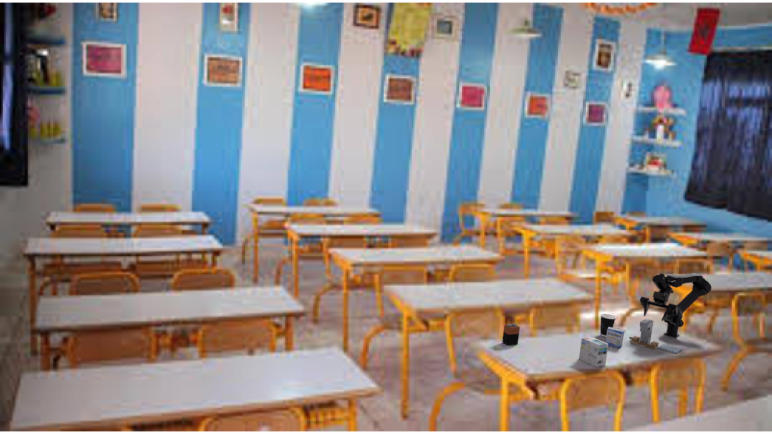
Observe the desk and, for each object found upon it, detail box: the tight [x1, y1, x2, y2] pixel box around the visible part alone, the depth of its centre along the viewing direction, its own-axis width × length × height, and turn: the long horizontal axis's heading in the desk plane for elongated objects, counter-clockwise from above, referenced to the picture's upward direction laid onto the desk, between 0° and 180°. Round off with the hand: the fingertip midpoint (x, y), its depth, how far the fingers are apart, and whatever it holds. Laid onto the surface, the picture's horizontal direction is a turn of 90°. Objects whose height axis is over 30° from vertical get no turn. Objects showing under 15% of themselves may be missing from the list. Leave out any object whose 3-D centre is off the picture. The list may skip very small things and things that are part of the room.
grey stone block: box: [639, 318, 655, 345], centre depth 336 cm, size 8×4×13 cm, turn 139°
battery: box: [501, 323, 521, 346], centre depth 322 cm, size 4×7×10 cm, turn 116°
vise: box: [629, 335, 659, 350], centre depth 339 cm, size 6×14×2 cm, turn 49°
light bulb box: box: [578, 336, 609, 368], centre depth 306 cm, size 11×7×11 cm, turn 33°
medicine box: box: [604, 327, 626, 349], centre depth 333 cm, size 8×4×9 cm, turn 62°
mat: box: [657, 343, 683, 355], centre depth 335 cm, size 9×9×1 cm
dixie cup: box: [600, 313, 617, 338], centre depth 347 cm, size 8×8×11 cm
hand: (653, 318), depth 342 cm, fingers open, 9 cm apart
